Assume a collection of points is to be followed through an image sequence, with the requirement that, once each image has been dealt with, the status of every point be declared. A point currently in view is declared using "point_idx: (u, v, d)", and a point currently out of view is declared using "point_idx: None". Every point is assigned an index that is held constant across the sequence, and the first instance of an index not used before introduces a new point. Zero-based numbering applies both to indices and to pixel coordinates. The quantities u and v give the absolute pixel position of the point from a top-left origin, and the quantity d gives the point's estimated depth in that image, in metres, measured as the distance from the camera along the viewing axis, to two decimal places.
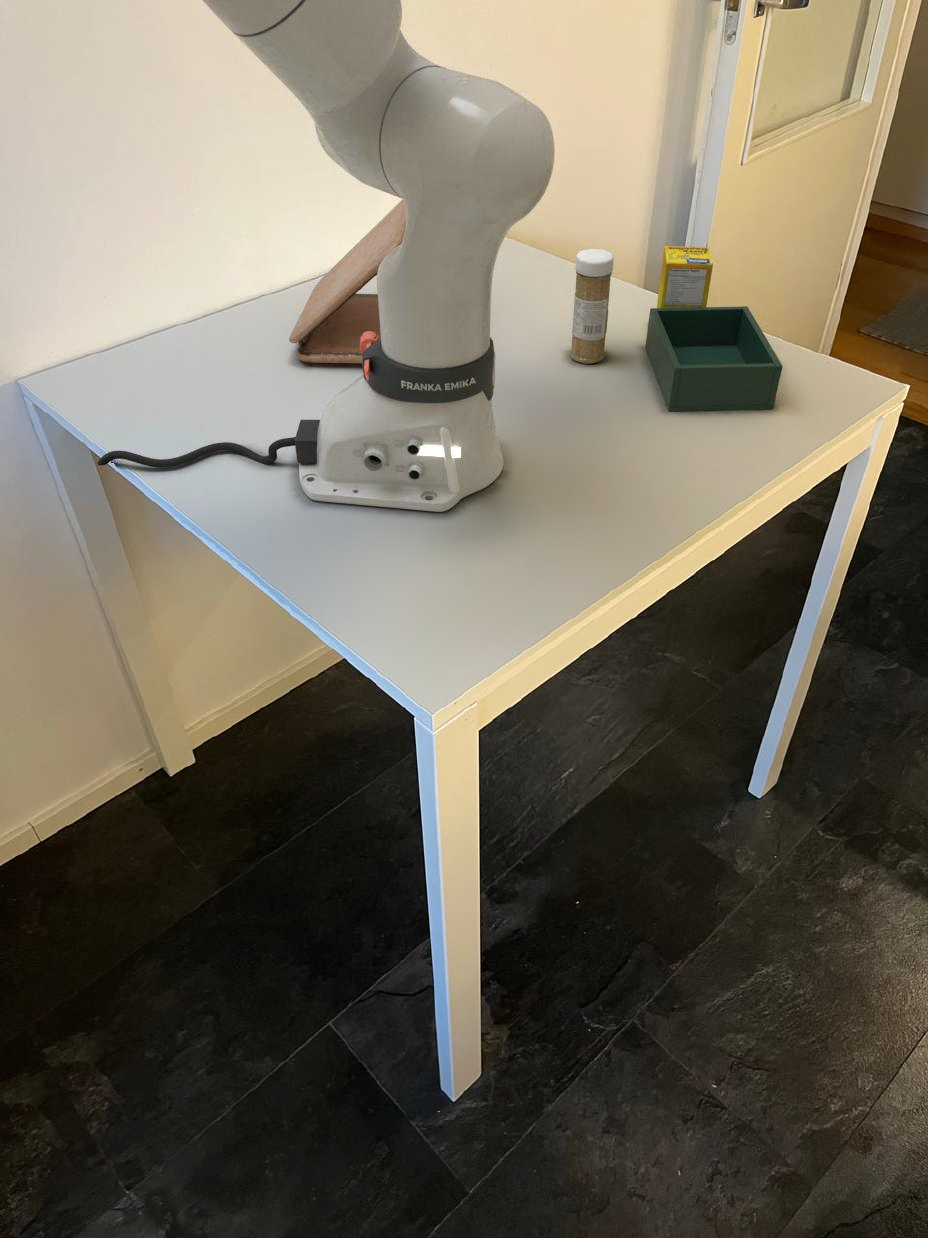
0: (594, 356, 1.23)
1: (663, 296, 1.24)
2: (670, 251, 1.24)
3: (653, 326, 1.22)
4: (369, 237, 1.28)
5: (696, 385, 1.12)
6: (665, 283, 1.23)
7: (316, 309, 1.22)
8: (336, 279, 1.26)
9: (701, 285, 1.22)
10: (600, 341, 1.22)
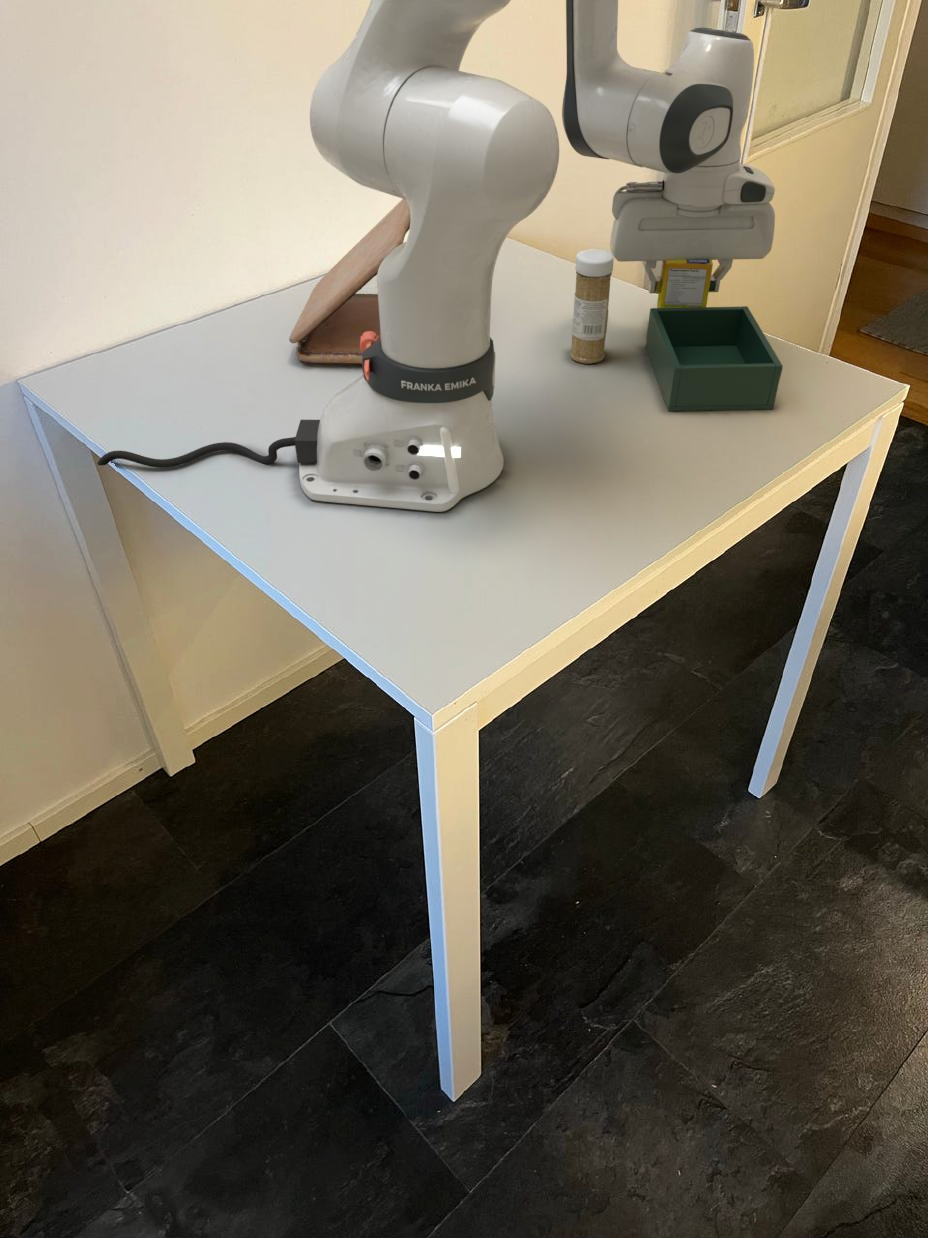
0: (594, 356, 1.23)
1: (663, 296, 1.24)
2: None
3: (653, 326, 1.22)
4: (369, 237, 1.28)
5: (696, 385, 1.12)
6: (664, 283, 1.23)
7: (316, 309, 1.22)
8: (336, 279, 1.26)
9: (700, 285, 1.22)
10: (600, 341, 1.22)
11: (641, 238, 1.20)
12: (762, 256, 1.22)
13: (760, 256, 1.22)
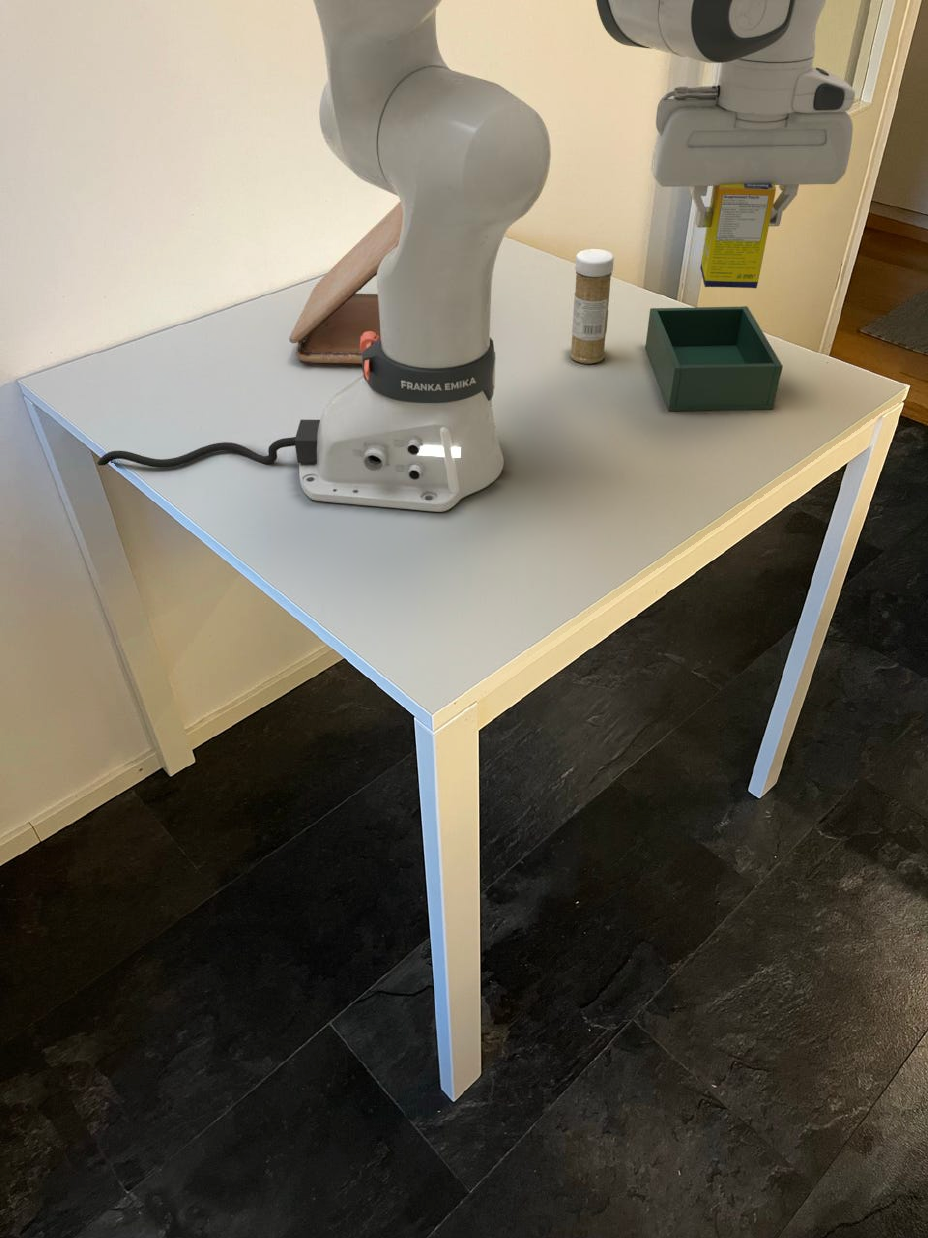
0: (594, 356, 1.23)
1: (714, 229, 1.04)
2: None
3: (653, 326, 1.22)
4: (369, 237, 1.28)
5: (696, 385, 1.12)
6: (717, 213, 1.02)
7: (316, 309, 1.22)
8: (336, 279, 1.26)
9: (760, 215, 1.02)
10: (600, 341, 1.22)
11: (690, 156, 0.99)
12: (834, 180, 1.01)
13: (832, 180, 1.01)
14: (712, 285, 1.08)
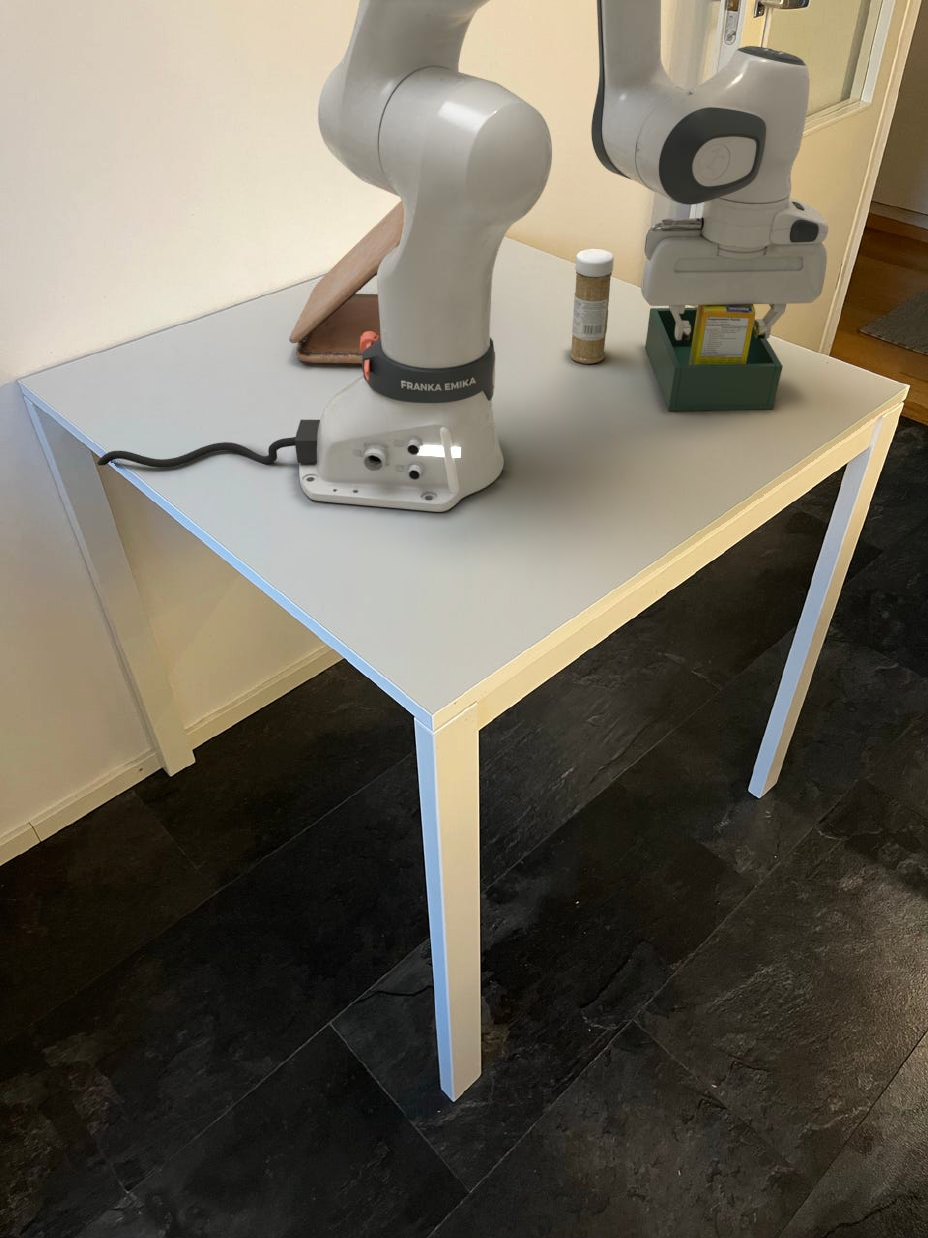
0: (594, 356, 1.23)
1: (699, 347, 1.12)
2: None
3: (653, 326, 1.22)
4: (369, 237, 1.28)
5: (696, 385, 1.12)
6: (701, 333, 1.11)
7: (316, 309, 1.22)
8: (336, 279, 1.26)
9: (741, 335, 1.10)
10: (600, 341, 1.22)
11: (677, 280, 1.07)
12: (811, 300, 1.09)
13: (809, 300, 1.09)
14: None
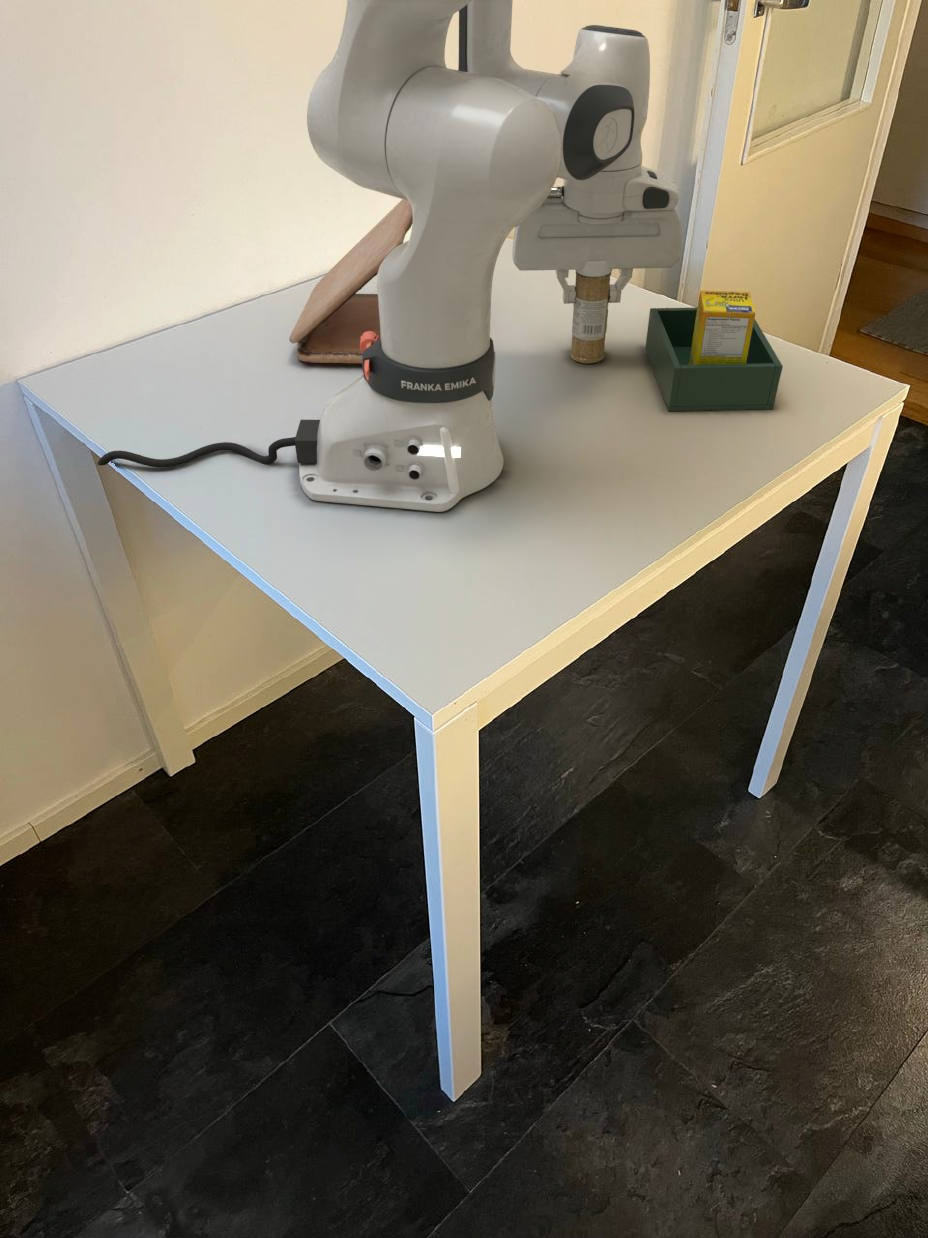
0: (594, 355, 1.23)
1: (699, 347, 1.12)
2: (707, 297, 1.11)
3: (653, 326, 1.22)
4: (369, 237, 1.28)
5: (696, 385, 1.12)
6: (701, 333, 1.11)
7: (316, 309, 1.22)
8: (336, 279, 1.26)
9: (741, 335, 1.10)
10: (600, 341, 1.22)
11: (542, 246, 1.14)
12: (671, 265, 1.16)
13: (669, 265, 1.16)
14: None
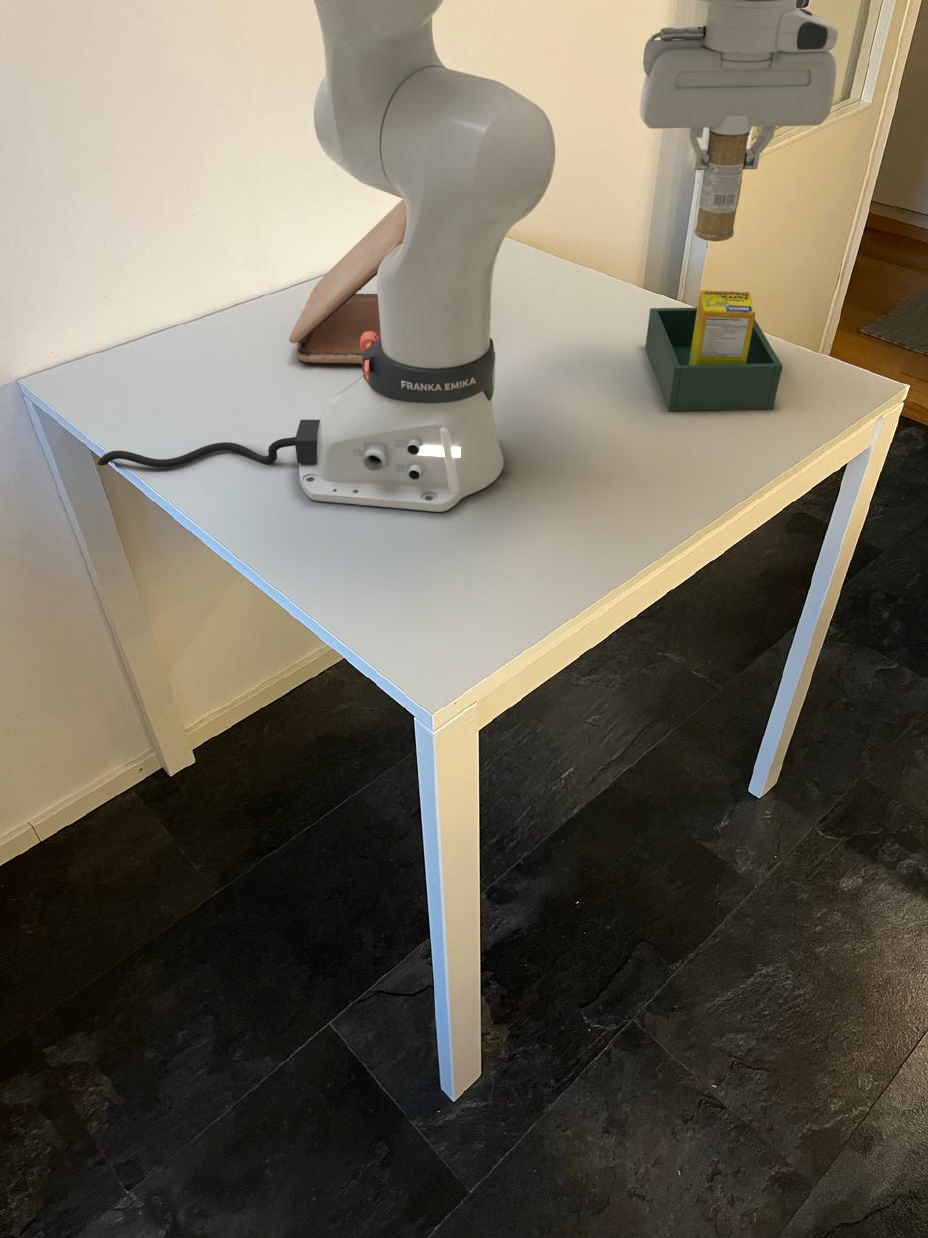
0: (723, 232, 1.11)
1: (699, 347, 1.12)
2: (707, 297, 1.11)
3: (653, 326, 1.22)
4: (369, 237, 1.28)
5: (696, 385, 1.12)
6: (701, 333, 1.11)
7: (316, 309, 1.22)
8: (336, 279, 1.26)
9: (741, 335, 1.10)
10: (732, 215, 1.10)
11: (677, 97, 1.01)
12: (819, 121, 1.03)
13: (817, 121, 1.03)
14: None
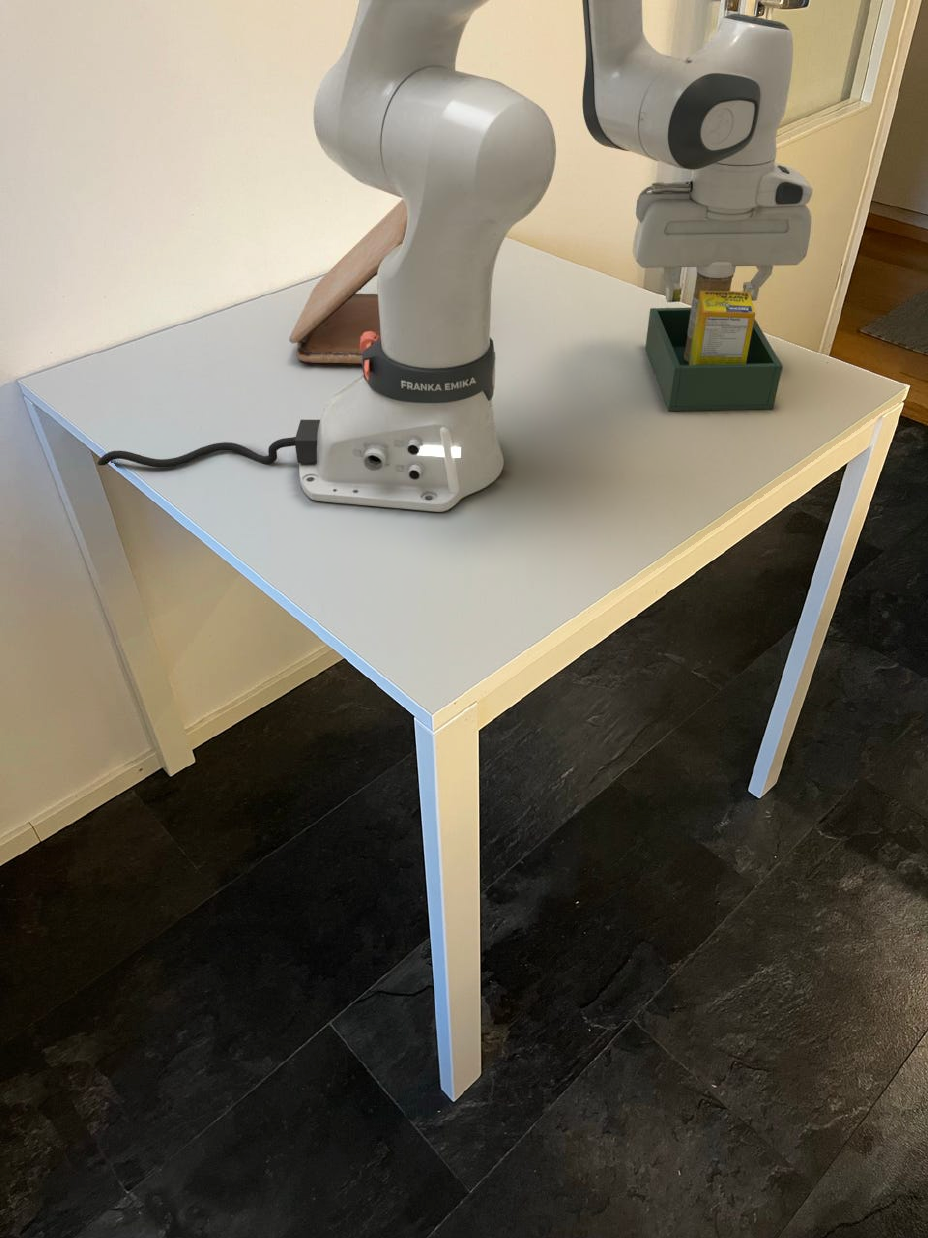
0: None
1: (699, 347, 1.12)
2: (707, 297, 1.11)
3: (653, 326, 1.22)
4: (369, 237, 1.28)
5: (696, 385, 1.12)
6: (701, 333, 1.11)
7: (316, 309, 1.22)
8: (336, 279, 1.26)
9: (741, 335, 1.10)
10: None
11: (667, 242, 1.11)
12: (796, 262, 1.13)
13: (794, 262, 1.13)
14: None
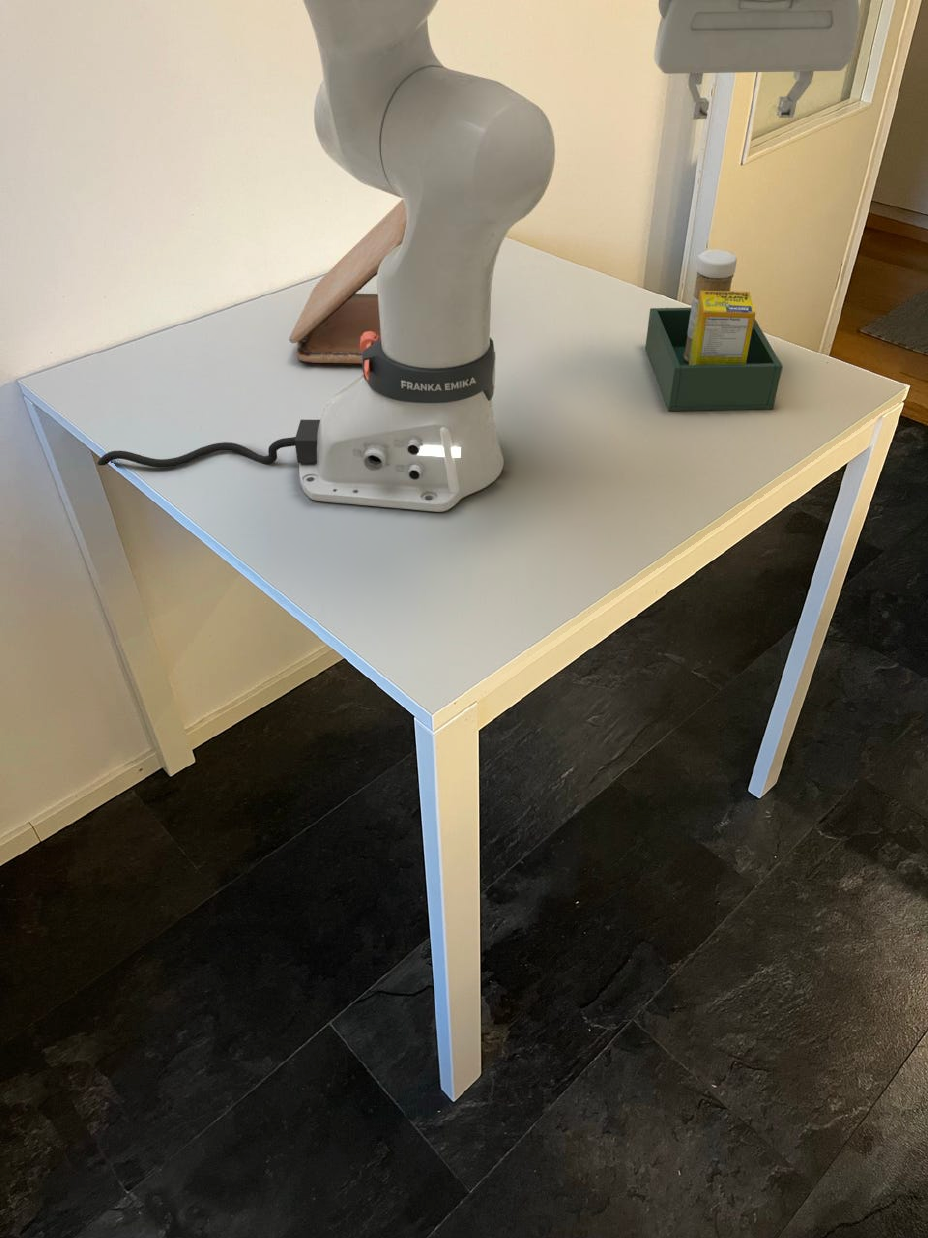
0: None
1: (699, 347, 1.12)
2: (707, 297, 1.11)
3: (653, 326, 1.22)
4: (369, 237, 1.28)
5: (696, 385, 1.12)
6: (701, 333, 1.11)
7: (316, 309, 1.22)
8: (336, 279, 1.26)
9: (741, 335, 1.10)
10: None
11: (694, 40, 0.98)
12: (840, 66, 1.00)
13: (838, 66, 1.00)
14: None
